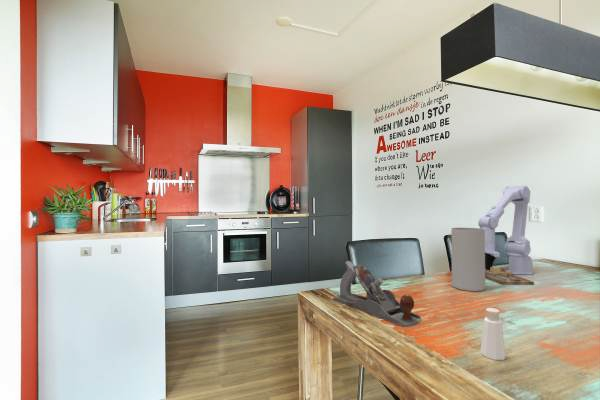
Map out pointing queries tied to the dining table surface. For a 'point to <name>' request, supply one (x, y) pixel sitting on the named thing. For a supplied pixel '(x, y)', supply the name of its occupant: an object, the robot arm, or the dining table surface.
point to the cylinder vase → (468, 259)
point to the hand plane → (376, 298)
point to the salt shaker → (493, 336)
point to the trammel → (497, 276)
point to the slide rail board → (512, 280)
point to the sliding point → (498, 271)
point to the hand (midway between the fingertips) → (488, 269)
